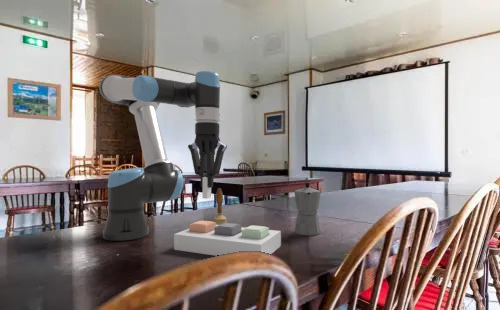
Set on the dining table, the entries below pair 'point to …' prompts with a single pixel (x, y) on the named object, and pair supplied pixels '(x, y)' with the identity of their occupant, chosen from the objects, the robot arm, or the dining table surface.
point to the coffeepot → (307, 211)
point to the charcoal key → (228, 229)
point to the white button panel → (224, 242)
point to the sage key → (255, 232)
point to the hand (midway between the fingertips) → (206, 197)
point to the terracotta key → (202, 226)
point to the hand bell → (219, 208)
